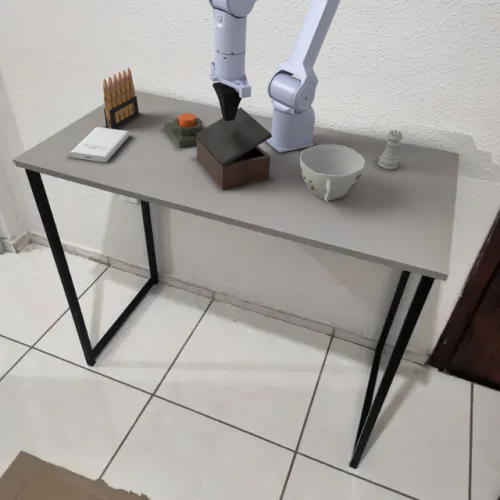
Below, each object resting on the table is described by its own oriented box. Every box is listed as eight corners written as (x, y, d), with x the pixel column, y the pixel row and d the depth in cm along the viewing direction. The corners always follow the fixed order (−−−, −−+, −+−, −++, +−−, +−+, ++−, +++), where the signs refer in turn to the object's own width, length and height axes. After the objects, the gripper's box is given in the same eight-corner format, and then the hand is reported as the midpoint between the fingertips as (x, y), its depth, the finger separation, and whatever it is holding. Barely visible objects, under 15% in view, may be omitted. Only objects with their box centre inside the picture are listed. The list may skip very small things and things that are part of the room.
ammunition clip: (133, 113, 120) (127, 65, 112) (139, 115, 120) (134, 67, 112) (106, 129, 113) (98, 79, 105) (112, 131, 112) (104, 81, 104)
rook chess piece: (399, 163, 106) (408, 130, 101) (395, 172, 103) (404, 139, 98) (379, 158, 108) (387, 126, 102) (375, 167, 104) (383, 134, 99)
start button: (176, 121, 110) (176, 114, 109) (192, 118, 112) (192, 111, 111) (182, 128, 108) (182, 121, 107) (198, 125, 109) (198, 118, 108)
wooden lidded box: (239, 150, 108) (240, 129, 104) (268, 179, 98) (270, 156, 95) (196, 159, 104) (196, 137, 100) (222, 190, 94) (222, 166, 91)
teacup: (299, 173, 101) (304, 139, 96) (358, 181, 99) (366, 147, 94) (290, 212, 90) (294, 175, 84) (356, 222, 88) (364, 185, 83)
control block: (165, 130, 114) (163, 116, 112) (195, 124, 117) (195, 111, 115) (179, 148, 107) (178, 134, 105) (211, 142, 110) (211, 128, 108)
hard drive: (129, 137, 110) (106, 162, 100) (96, 133, 111) (71, 157, 101) (128, 131, 109) (105, 156, 99) (95, 126, 110) (69, 150, 100)
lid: (241, 110, 101) (240, 107, 101) (272, 136, 92) (271, 133, 92) (196, 136, 100) (195, 133, 100) (223, 166, 91) (222, 163, 90)
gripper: (195, 40, 90) (197, 108, 99) (226, 65, 81) (225, 137, 89) (228, 37, 93) (227, 103, 102) (263, 60, 83) (258, 131, 92)
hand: (228, 119), depth 96 cm, fingers closed
